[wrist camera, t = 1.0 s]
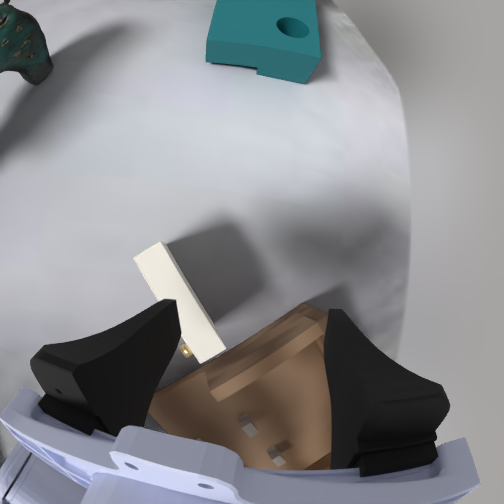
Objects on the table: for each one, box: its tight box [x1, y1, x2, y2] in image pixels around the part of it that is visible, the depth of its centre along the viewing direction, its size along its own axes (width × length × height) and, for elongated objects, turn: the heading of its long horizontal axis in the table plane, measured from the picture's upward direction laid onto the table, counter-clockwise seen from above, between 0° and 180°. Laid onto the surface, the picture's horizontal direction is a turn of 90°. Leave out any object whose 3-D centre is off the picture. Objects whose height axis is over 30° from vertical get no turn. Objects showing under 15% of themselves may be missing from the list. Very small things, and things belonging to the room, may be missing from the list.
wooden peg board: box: [148, 303, 332, 470], centre depth 23 cm, size 18×20×5 cm
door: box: [134, 241, 226, 364], centre depth 20 cm, size 3×8×7 cm, turn 30°
